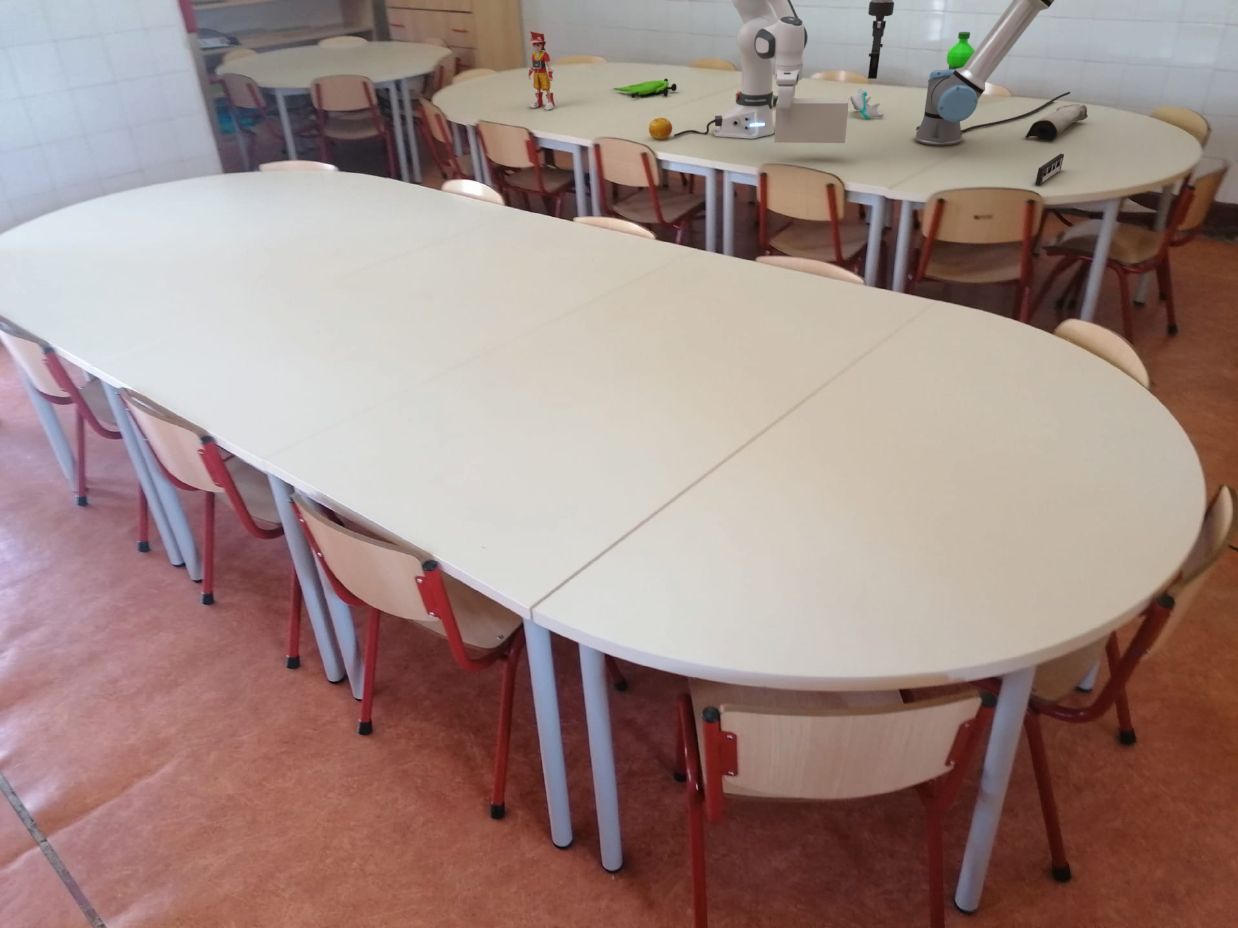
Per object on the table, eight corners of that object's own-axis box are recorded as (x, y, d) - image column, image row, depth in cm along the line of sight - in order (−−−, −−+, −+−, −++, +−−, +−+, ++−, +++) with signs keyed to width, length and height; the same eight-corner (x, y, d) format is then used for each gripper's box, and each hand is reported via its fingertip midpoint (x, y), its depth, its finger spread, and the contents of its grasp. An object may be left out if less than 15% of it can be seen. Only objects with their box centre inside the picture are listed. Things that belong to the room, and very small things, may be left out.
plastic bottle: (973, 101, 354) (984, 32, 339) (955, 106, 349) (966, 36, 335) (952, 97, 361) (962, 29, 346) (934, 102, 356) (944, 33, 342)
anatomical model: (845, 88, 347) (871, 81, 346) (848, 115, 353) (873, 108, 352) (857, 97, 335) (883, 90, 334) (859, 125, 341) (885, 118, 340)
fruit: (641, 130, 330) (653, 111, 327) (649, 133, 338) (660, 114, 335) (659, 143, 329) (671, 123, 326) (666, 146, 337) (678, 126, 334)
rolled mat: (1054, 109, 326) (1079, 92, 318) (1068, 130, 327) (1093, 113, 318) (1021, 132, 309) (1046, 114, 301) (1035, 154, 309) (1061, 137, 301)
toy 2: (686, 85, 398) (631, 84, 414) (685, 72, 395) (629, 72, 411) (651, 104, 381) (596, 103, 397) (650, 92, 378) (594, 91, 394)
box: (774, 142, 299) (776, 103, 292) (776, 137, 304) (777, 98, 297) (844, 143, 294) (848, 103, 287) (845, 137, 299) (848, 98, 292)
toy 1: (525, 109, 381) (517, 32, 364) (534, 104, 388) (527, 28, 371) (550, 110, 377) (543, 32, 360) (559, 105, 384) (553, 28, 367)
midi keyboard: (1039, 185, 269) (1043, 168, 266) (1035, 184, 270) (1038, 168, 267) (1060, 170, 279) (1064, 154, 277) (1056, 169, 280) (1060, 153, 277)
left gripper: (781, 66, 298) (779, 110, 305) (775, 80, 281) (773, 126, 289) (800, 66, 296) (798, 110, 304) (795, 80, 280) (793, 126, 288)
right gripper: (894, 7, 268) (884, 82, 280) (894, -5, 287) (885, 66, 300) (868, 7, 269) (859, 82, 282) (870, -5, 289) (862, 65, 301)
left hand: (786, 118), depth 297 cm, fingers closed on box, 6 cm apart
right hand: (872, 74), depth 291 cm, fingers open, 13 cm apart
